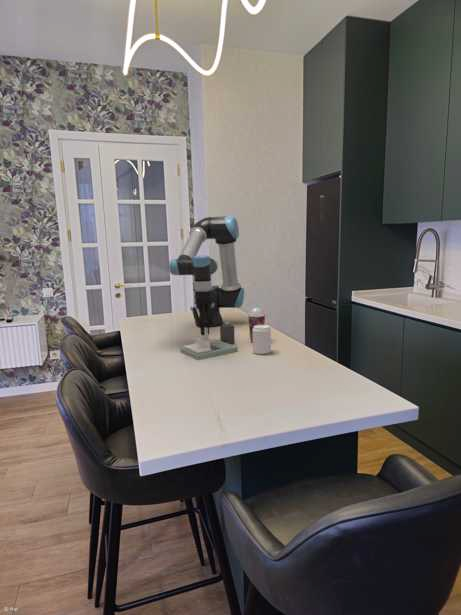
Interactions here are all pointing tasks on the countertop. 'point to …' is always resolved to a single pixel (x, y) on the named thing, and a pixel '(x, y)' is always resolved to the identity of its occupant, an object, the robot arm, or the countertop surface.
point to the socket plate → (218, 350)
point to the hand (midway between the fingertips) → (205, 341)
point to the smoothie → (255, 319)
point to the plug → (227, 333)
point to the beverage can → (261, 339)
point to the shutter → (199, 346)
